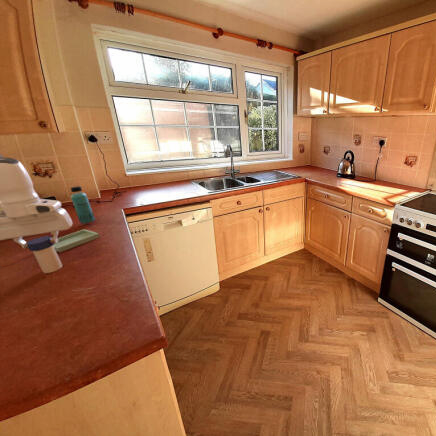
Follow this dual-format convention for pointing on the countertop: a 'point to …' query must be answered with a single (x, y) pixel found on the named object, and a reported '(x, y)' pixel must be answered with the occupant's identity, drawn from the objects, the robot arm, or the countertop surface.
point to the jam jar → (48, 259)
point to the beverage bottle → (82, 206)
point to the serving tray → (74, 239)
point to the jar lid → (39, 243)
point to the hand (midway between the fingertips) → (41, 245)
